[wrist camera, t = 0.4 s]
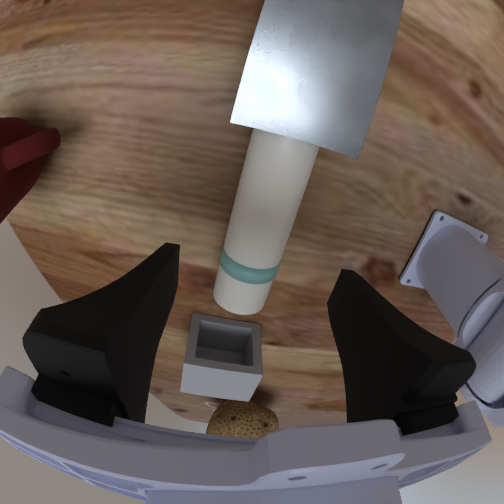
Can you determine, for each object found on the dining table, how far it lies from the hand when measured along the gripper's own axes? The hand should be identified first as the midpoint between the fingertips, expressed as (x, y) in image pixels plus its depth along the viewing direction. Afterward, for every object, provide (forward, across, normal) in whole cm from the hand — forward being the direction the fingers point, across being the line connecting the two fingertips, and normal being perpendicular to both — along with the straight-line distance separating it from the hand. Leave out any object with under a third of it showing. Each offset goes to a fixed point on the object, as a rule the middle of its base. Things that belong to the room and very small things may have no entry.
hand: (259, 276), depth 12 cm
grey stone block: (+10, -1, -11) cm, 15 cm away
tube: (+9, -1, -5) cm, 10 cm away
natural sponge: (+10, -4, +28) cm, 30 cm away
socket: (+10, 0, +15) cm, 18 cm away
